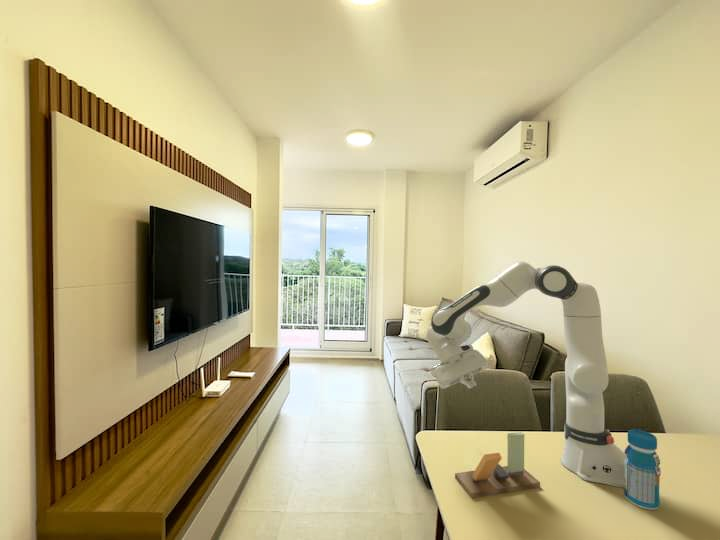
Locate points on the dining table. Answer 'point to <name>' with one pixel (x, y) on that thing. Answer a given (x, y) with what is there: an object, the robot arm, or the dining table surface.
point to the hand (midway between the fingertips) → (472, 386)
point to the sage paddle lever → (515, 453)
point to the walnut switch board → (495, 483)
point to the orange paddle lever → (486, 466)
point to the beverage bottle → (642, 470)
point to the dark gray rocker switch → (500, 473)
